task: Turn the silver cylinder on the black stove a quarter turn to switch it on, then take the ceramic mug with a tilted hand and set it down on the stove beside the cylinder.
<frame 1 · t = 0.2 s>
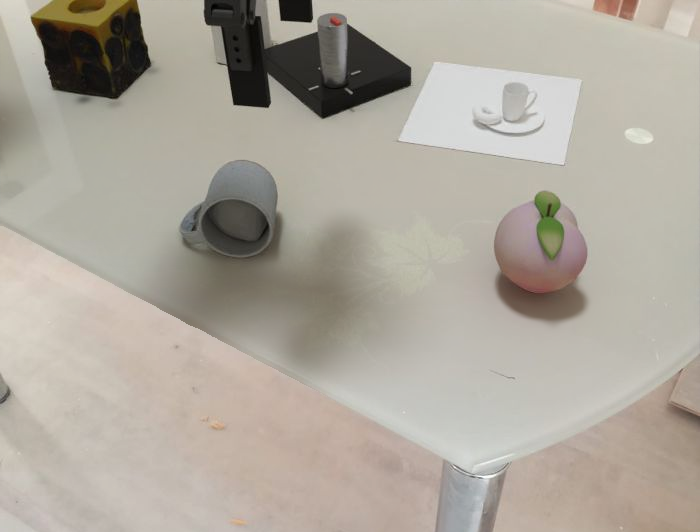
hand: (276, 59, 62), 23 cm above the table, tool pointing down, fingers open, 13 cm apart
silver cylinder: (333, 50, 96), point 7 cm above the table, hinge at 0.0°
teacup and saucer: (493, 110, 99), on the table
ceramic mug: (232, 237, 83), on the table
candle: (103, 77, 107), on the table
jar: (244, 54, 110), on the table
decorative fruit: (530, 286, 77), on the table
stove: (334, 76, 105), on the table
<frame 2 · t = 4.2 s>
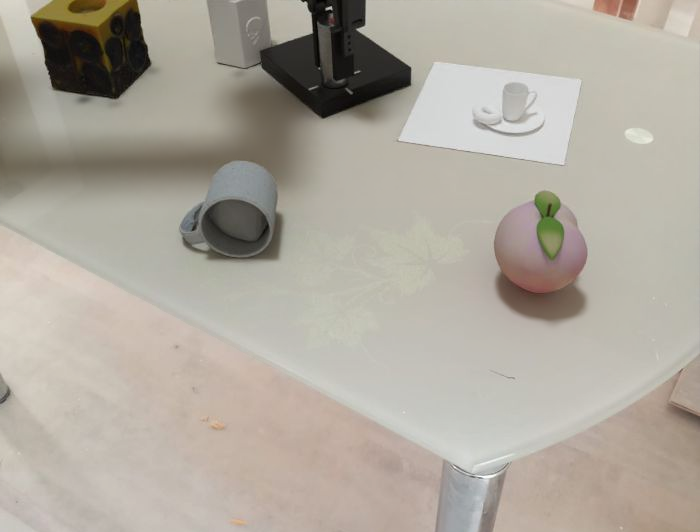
hand: (334, 69, 98), 4 cm above the table, tool pointing down, fingers closed on silver cylinder, 4 cm apart
silver cylinder: (333, 50, 96), point 7 cm above the table, hinge at 0.0°, touching gripper
everything else where it was.
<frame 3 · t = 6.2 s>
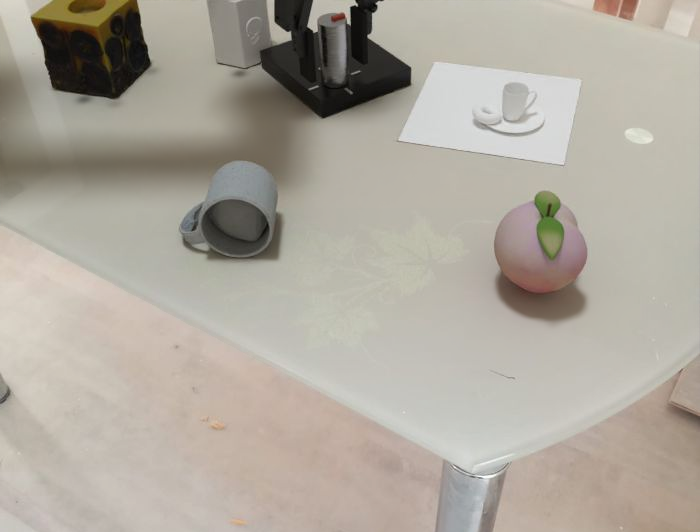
hand: (334, 68, 98), 4 cm above the table, tool pointing down, fingers open, 7 cm apart
silver cylinder: (333, 50, 96), point 7 cm above the table, hinge at 90.3°
everything else where it was.
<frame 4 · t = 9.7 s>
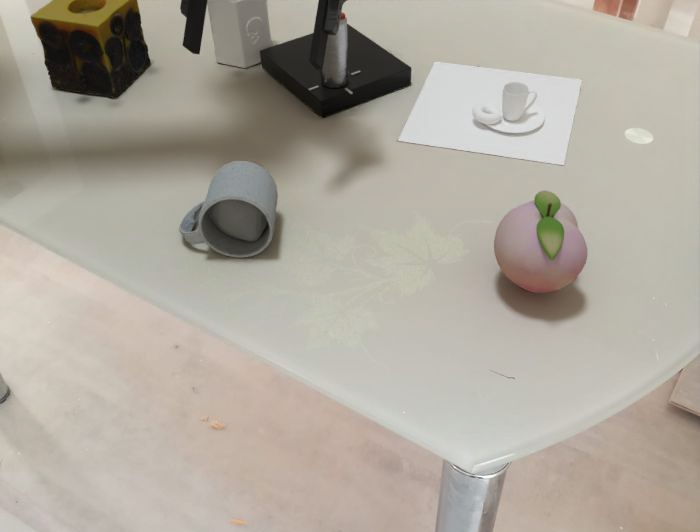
hand: (252, 58, 79), 15 cm above the table, tool tilted 45°, fingers open, 13 cm apart
nothing on the table moved.
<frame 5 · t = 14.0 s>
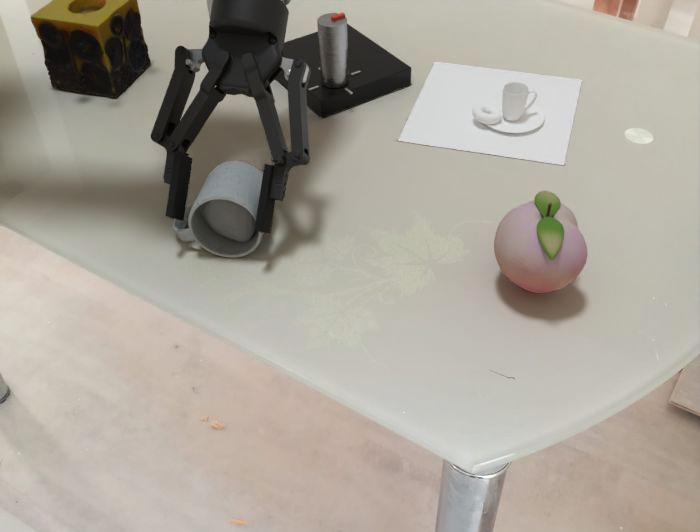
hand: (217, 225, 78), 4 cm above the table, tool tilted 45°, fingers closed on ceramic mug, 9 cm apart
ceramic mug: (225, 236, 84), on the table, touching gripper
everything else where it was.
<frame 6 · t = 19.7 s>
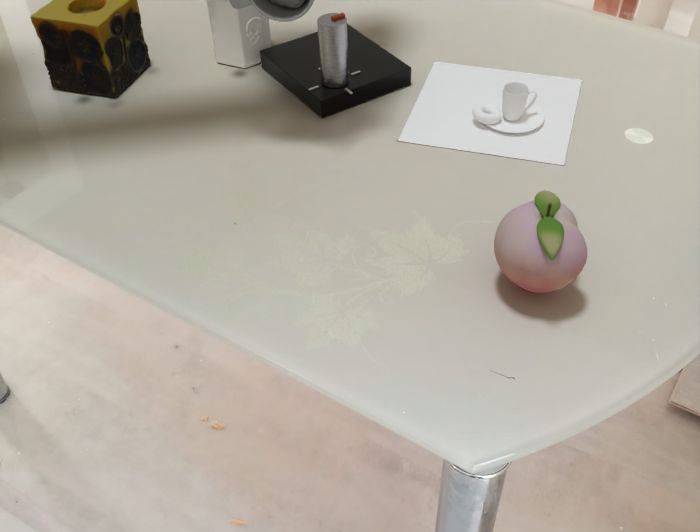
ceramic mug: (277, 8, 87), point 15 cm above the table, touching gripper
everything else where it was.
when the fingers open (7 cm above the table, at t = 25.4 s): ceramic mug stays where it is, resting on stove.
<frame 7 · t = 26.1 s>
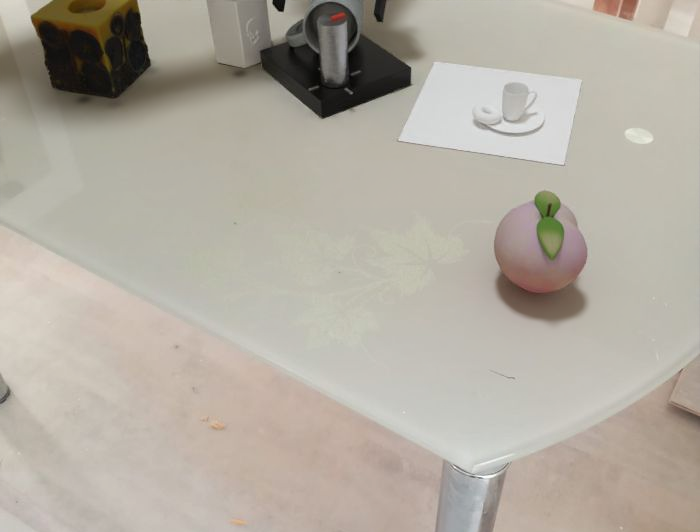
hand: (327, 13, 100), 8 cm above the table, tool tilted 45°, fingers open, 13 cm apart
ceramic mug: (326, 46, 106), point 2 cm above the table, touching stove
everything else where it was.
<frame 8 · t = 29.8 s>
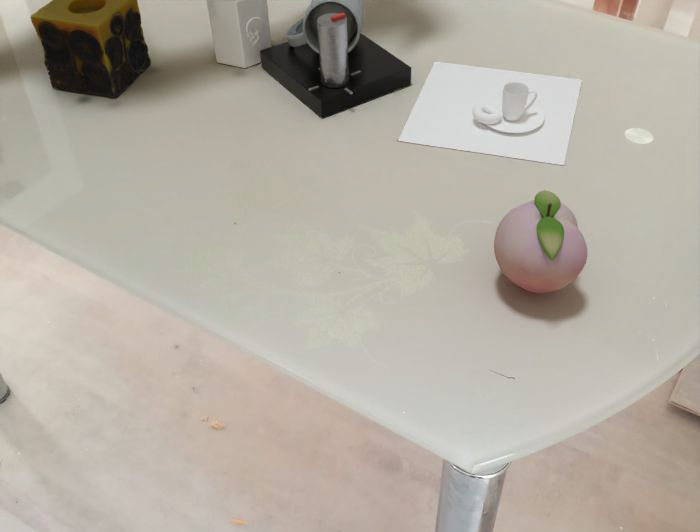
nothing on the table moved.
at the end: silver cylinder at +90° (first picture: +0°); ceramic mug inside the target area on the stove (1.2 cm from its centre), point 2.3 cm above the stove's base; ceramic mug tilted 0° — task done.
